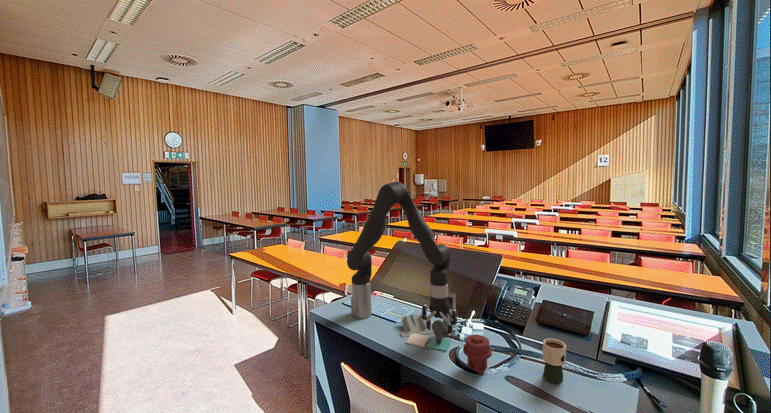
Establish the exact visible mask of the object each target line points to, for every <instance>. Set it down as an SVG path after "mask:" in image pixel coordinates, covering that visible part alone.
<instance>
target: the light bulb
mask: <svg viewBox="0 0 771 413" xmlns="http://www.w3.org/2000/svg"><path fill="white" fill-rule="evenodd" d="M431 329H432V330H433V332H434V334H433V335H434V337H435V338H436V343H438V344H440V343H441V342H442V339H443V333H444V331H445V324H444V322H443V320H442V319H441V320H440V319H437V320H434V321H433V322H432V323H431Z"/></svg>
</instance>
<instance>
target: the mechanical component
mask: <svg viewBox="0 0 771 413" xmlns="http://www.w3.org/2000/svg"><path fill="white" fill-rule="evenodd" d="M462 350H463V351H462V352H463V354H464V355H465V356H466V357H467V368H468V367H469V368H471V369H473V370H472V371H474V370H476V371H478V373H477V374H478V375H483V374H484V371H485V370H487V368H488V359H490V358H491V357H492V355H493V350H492V347H491V346H490V340H489V338H488V337H486V336H484V335H481V334H470V335H468V336H466V337H465V344H464V345H463V347H462ZM476 371H475V372H476Z"/></svg>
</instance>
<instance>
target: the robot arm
mask: <svg viewBox="0 0 771 413" xmlns="http://www.w3.org/2000/svg"><path fill="white" fill-rule="evenodd" d="M397 204H398V205H399V206H400V207H401V208H402V210H403V211H404V214H405V215H406V219H407V224H408V228H409V230H410V232H411V233H412V234H413V236H414V237H415V239H416V240H417V241H418V243H419V245H420V247H421V250H422V251H423V254H424V256H425V258H426V259H427V261H428V262H429V263H430V264H432V265H433V267H432V268H431V269H430V272H429V273H430V274H429V280H430V281H429V305H428V304H426V303H424V304H423V305H422V306H421V307H422V308H421V314H422V319H423V320H426V327H427V328H428V330H430V329H432V323H431V322H432V320H431V319H432V318H433V317H434V318H436V319H437V318H438V319H439V320H440V319H441V320H443V318H444V320H445V321H446V322H447V323H448V334H450V333H451V332H452V330H453V325H454V326H456V325H457V323H458V314H457V313H458V312H457V309H455V308H454V309H449V306H448V294H449V293H450V291H449V276H448V275H449V274H448V273H449V268H450V264H451V262H450V261H451V251H450V248H449V247H448V246H447V245H446V244H443V243H441V244H437V243H436V241H435V238H436V235H435V233H434V232H433V230H432V229H431V227H430V226H429V225H428V224H427V222H426V220H424V218H423V216H422V215H421V213H420V212H419V209H418V208H417V206H416V204H415V202H414V200H413V198H412V196H411V195H410V193H409V191H408V189H407V187H406V186H405V185H404V184H403V183H402V182H401V181H393V182H389V183H385V184H384V185H382V186H381V187H380V188H379V190H378V193H377V195H376V199H375V202H374V204H373V207H372V209H371V212H370V213H369V216H368V218H367V219H366V221H365V223H364V226H363V228H362V230H361V232H360V235H359V236H358V238H357V240H356V241H355V244H354V245H353V246H352V249H350V251H349V253H348V255H347V257H346V258H347V259H346V265H347V267H348V268H349V269H350V270H351V271H356V272H355V273H354V274H353V275H352V277H351V293H352V294H351V295H352V296H351V297H350V306H351V307H350V308H351V310H350V311H351V316H353V317H354V318H356V319H360V320H361V319H363V320H364V319H367V318H368V319H369V317H371V316H372V294H371V293H372V292H371V290H372V289H371V287H372V286H371V278H372V270H373V269H372V264H373V262H372V255H371V252H370V251H369V250H370V249H372V248H373V247H374V246H375V245H376V244H377V243H378V242H379V241H380V240H381V238H382V236H383V235H384V233H385V231H386V228H387V220H386V218H387V215H388V213H389V211H390V210H391V209H392V207H393V206H394V205H397ZM428 310H429V312H430V314H429V315H427V311H428ZM449 312H450V313H451V315H452V317H453V320H451V318H450V316H449V314H448V313H449Z"/></svg>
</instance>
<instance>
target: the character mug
mask: <svg viewBox="0 0 771 413" xmlns="http://www.w3.org/2000/svg"><path fill="white" fill-rule="evenodd" d="M566 358H567V345H566V343H565V342H563V340H562V341H561V340H559V339H557V338H545V339H543V340H542V360H543V361H544V362H545V363H544V367H543V372H542V376H543V377H544V378H545V379H546V380H548V381H549V382H552V383H555V384H559V383H560V384H561V383H563V382H564V371H563V366H564V365H566Z"/></svg>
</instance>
